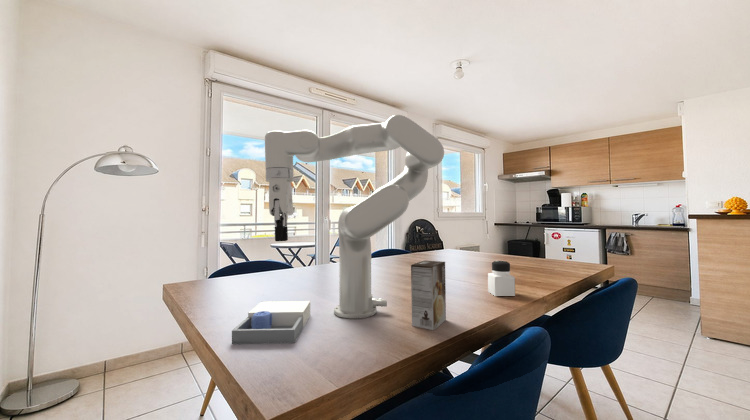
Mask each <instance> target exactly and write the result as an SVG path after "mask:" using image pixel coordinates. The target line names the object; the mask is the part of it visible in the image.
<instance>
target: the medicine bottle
mask: <svg viewBox="0 0 750 420" xmlns="http://www.w3.org/2000/svg"><path fill="white" fill-rule="evenodd" d="M510 273H511V264H510V262H508V261H506V260H495V261H492V262H491V272H489V273H487V292H488V293H489V294H490V293H491V294H490V295H491V296H493V295H494V296H493V297H495V296H515V297H516V277H515V276H514V275H512V274H510Z"/></svg>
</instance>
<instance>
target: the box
mask: <svg viewBox="0 0 750 420" xmlns="http://www.w3.org/2000/svg"><path fill="white" fill-rule="evenodd" d="M303 328H304V327H303V316H300V317H299V318H298V320H297V321H296V323H295V324H294V326H271V329H252V326H251V317H248V316H247V317H246V318H245V319H244V320H242V321H241V322H240V323H238V325H237V326H235V327H234V328H233V329H232V330H231V345H251V344H252V345H259V344H260V345H261V344H267V345H268V344H295V343H296V341H297V339H298V338H299V335H301V333H302V331H303Z"/></svg>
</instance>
